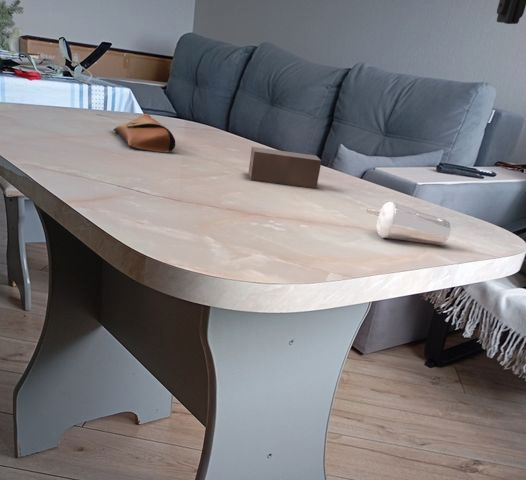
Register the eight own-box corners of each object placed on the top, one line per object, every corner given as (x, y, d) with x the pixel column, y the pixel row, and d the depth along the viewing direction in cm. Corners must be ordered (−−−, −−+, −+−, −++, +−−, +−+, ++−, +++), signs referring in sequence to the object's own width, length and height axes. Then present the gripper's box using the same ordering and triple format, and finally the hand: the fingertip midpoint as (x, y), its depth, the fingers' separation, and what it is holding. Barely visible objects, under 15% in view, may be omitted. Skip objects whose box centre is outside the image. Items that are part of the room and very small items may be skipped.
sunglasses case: (109, 128, 121) (128, 99, 120) (139, 149, 125) (158, 121, 124) (128, 146, 107) (150, 113, 106) (161, 169, 111) (182, 138, 110)
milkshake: (443, 209, 82) (372, 193, 80) (457, 220, 77) (382, 203, 75) (431, 242, 84) (361, 226, 82) (444, 254, 79) (370, 238, 77)
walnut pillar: (316, 155, 103) (251, 146, 101) (321, 160, 99) (254, 151, 97) (311, 182, 105) (248, 174, 103) (316, 188, 101) (250, 180, 99)
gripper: (594, -130, 78) (543, 32, 86) (485, -156, 75) (443, 13, 83) (632, -145, 71) (573, 32, 79) (514, -174, 69) (465, 12, 77)
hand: (507, 22), depth 81 cm, fingers closed
